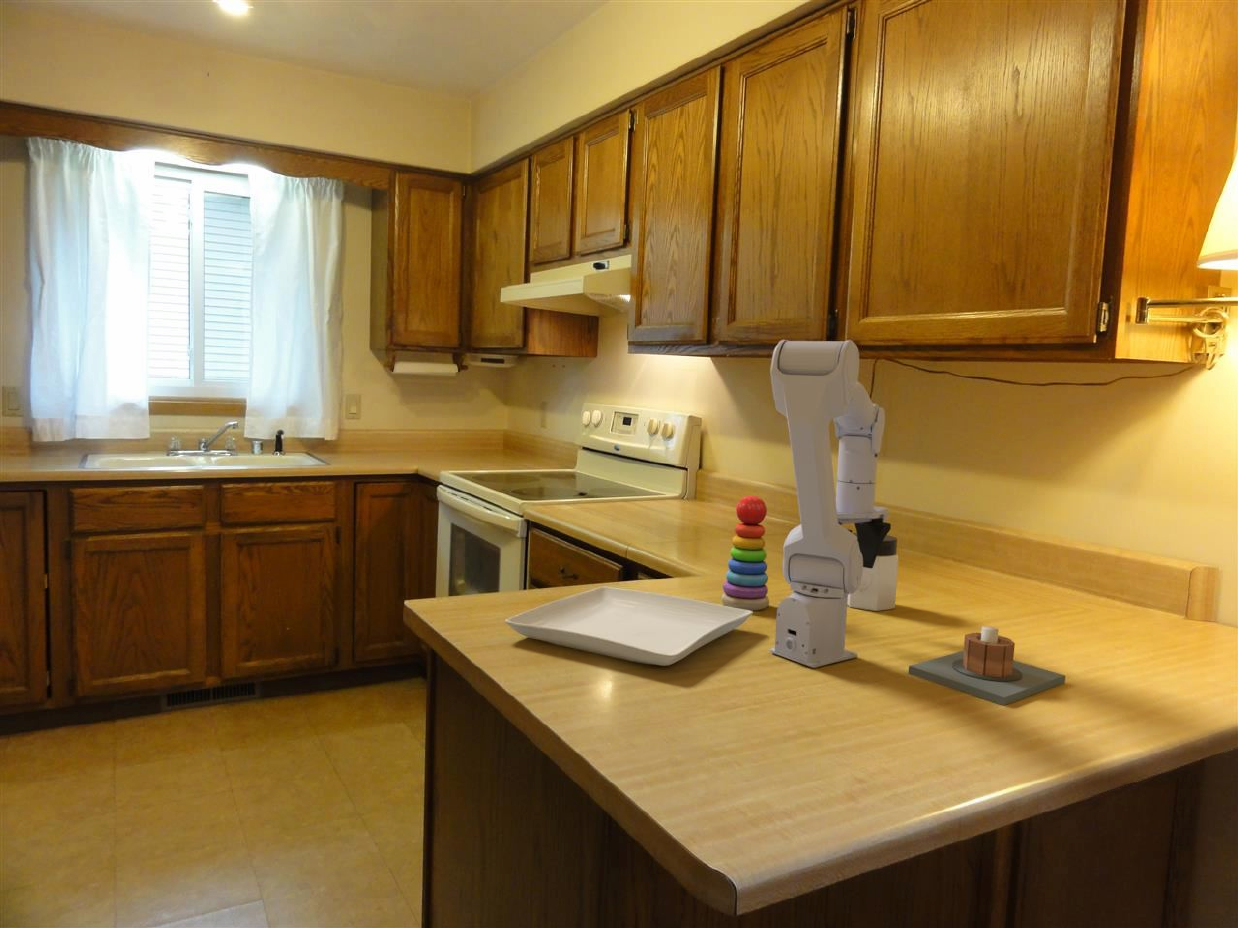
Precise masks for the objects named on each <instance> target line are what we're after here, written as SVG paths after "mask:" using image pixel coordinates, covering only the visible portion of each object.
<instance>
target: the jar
mask: <svg viewBox="0 0 1238 928" xmlns="http://www.w3.org/2000/svg"><path fill="white" fill-rule="evenodd" d="M852 534H854V535H855V536H856V537H857V532H852ZM857 541H858V537H857ZM897 547H898V539H897V538H896V537H895V536H892V535H888V534H887V535H886V536H885V538H884V540H883V542H882V544H881V546H880V548H879V551H878V554H877V557H876V560H875V563H874V566H873V568H866V567H863V571H862V578H861V582H860V585H859V587H858V589H857V590H856V591H855V592H854V593H852V594H849V595H848V602H847V607H849V608H853V609H861V610H866V611H872V612H880V611H887V610H895V608H896V598H897V597H896V595H897V583H898V569H899V555H898V554H897V551H898V549H897Z"/></svg>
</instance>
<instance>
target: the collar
mask: <svg viewBox="0 0 1238 928" xmlns="http://www.w3.org/2000/svg"><path fill="white" fill-rule="evenodd" d="M1015 645H1016V644H1015V642H1014V641H1013V640H1012V639H1010V638H1009V637H1006V636H1002V635H999V634H998V643H988V642H984V641H981V632H971V633H967V634H965V635H964V643H963V651H964V654H963V666H964V667H965V668H966V670H968V671H971V672H974V673H977V674H980V675H985V676H995V677H1005V676H1008V675H1011V674H1012V670H1013V660H1014V659H1015V658H1014V657H1015Z"/></svg>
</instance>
